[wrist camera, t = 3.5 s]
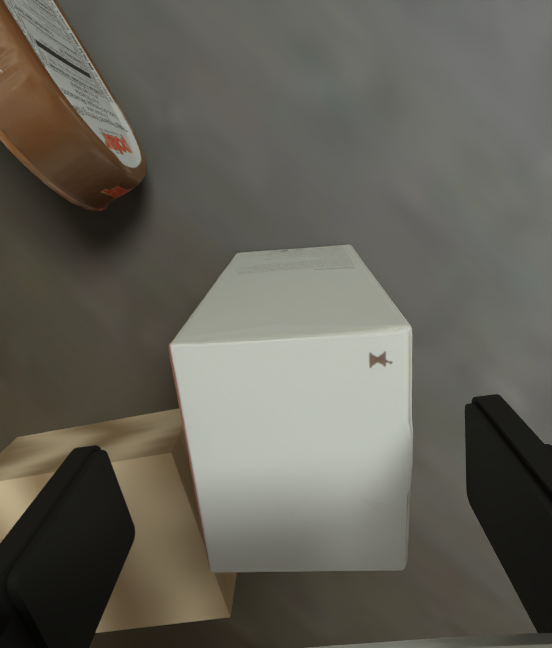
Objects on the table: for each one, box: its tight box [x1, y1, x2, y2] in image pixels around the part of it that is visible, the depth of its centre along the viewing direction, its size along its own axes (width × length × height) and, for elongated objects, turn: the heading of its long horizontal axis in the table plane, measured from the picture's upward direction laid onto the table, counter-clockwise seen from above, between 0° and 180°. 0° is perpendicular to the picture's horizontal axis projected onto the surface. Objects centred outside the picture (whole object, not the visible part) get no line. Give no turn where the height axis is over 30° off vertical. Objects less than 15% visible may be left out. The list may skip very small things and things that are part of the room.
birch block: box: [0, 409, 237, 633], centre depth 27 cm, size 12×12×5 cm
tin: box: [0, 0, 147, 212], centre depth 16 cm, size 15×3×8 cm, turn 29°
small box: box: [168, 245, 413, 573], centre depth 18 cm, size 8×6×13 cm
